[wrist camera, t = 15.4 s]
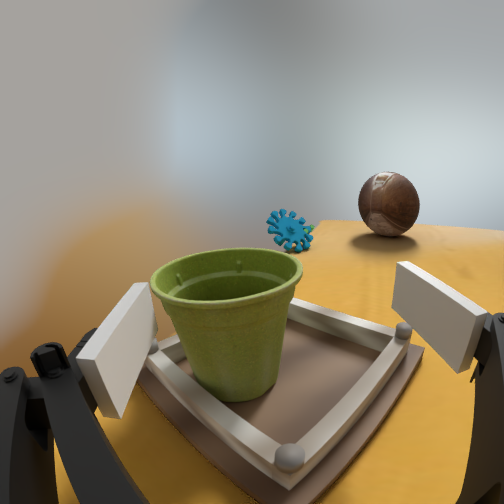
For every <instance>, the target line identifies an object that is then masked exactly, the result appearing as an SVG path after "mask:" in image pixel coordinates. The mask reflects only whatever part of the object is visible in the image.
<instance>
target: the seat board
mask: <svg viewBox="0 0 504 504" xmlns="http://www.w3.org/2000/svg"><path fill="white" fill-rule="evenodd" d="M412 329H413V328H412V327H411V326H410V325H409V324H408V323H405V322H401V323H398V324H397V326H396V329H394V328H390V327H387V326H384V325H380V324H377V323H374V322H370V321H367V320H364V319H360V318H357V317H354V316H351V315H347V314H344V313H341V312H338V311H334V310H331V309H328V308H325V307H322V306H319V305H315V304H312V303H309V302H306V301H303V300H300V299H297V298H294V297H293V298H292V300H291V302H290V303H289V309H288V315H287V321H286V327H285V334H284V340H283V347H282V354H281V361H280V367H279V373H278V378H277V381H276V383H275V384H273V385H272V386H271V387H270V388H269V389H268V390H267V391H266V392H265V393H264V394H263V395H262V396H260V397H257V398H255V399H252V400H248V401H242V402H226V401H221V400H218V399H216V398H215V397H214V396H212V395H211V394H210V393H209V392H207V391H206V390H205V389H204V388H202V387H201V386H200V385H199V384H198V383H197V381H196V378H195V376H194V374H193V371H192V369H191V366H190V364H189V362H188V359H187V357H186V355H185V352H184V350H183V347H182V344H181V342H180V340H179V337H178V335H177V334H176V335H174V336H171V337H169V338H167V339H164V340H162V341H160V342H157V339H156V338H154V340H153V343H152V345H151V347H150V350H149V352H148V354H147V357H146V359H145V361H144V364H143V366H142V368H141V371H140V373H139V375H138V378H137V380H136V382H137V383H138V384H139V385H140V387H141V388H142V389H143V390H144V392H145V393H146V394H147V395H148V397H149V398H150V399H151V400H152V401H153V403H154V404H155V405H156V406H157V407H158V408H159V410H160V411H161V412H162V413H163V414H164V415H165V416H166V418H167V419H168V420H169V421H170V422H171V423H172V424H173V425H174V426H175V427H176V429H177V430H178V431H179V432H180V433H181V434H182V435H183V436H184V437H185V438H186V439H187V440H188V441H189V442H190V443H191V444H192V445H193V446H194V447H195V448H196V449H197V450H198V451H199V452H200V453H201V454H202V455H203V456H204V457H205V458H206V459H207V460H208V461H210V462H211V463H212V464H213V465H214V466H215V467H216V468H217V469H218V470H219V471H221V472H222V473H223V474H224V475H225V476H226V477H227V478H229V479H230V480H231V481H232V482H233V483H235V484H236V485H237V486H238V487H239V488H241V489H242V490H243V491H244V492H246V493H247V494H248V495H249V496H251V497H252V498H253V499H255V500H256V501H257V502H259V503H260V504H313V503H314V502H315V501H316V500H317V499H318V498H319V497H320V496H321V495H322V494H323V493H324V492H325V491H326V490H327V489H328V488H329V487H330V486H331V485H332V484H333V483H334V482H335V481H336V480H337V478H338V477H339V476H340V475H341V474H342V473H343V472H344V471H345V469H346V468H347V467H348V466H349V465H350V464H351V462H352V461H353V460H354V459H355V458H356V456H357V455H358V454H359V453H360V452H361V450H362V449H363V448H364V446H365V445H366V444H367V443H368V441H369V440H370V439H371V437H372V436H373V435H374V433H375V432H376V431H377V429H378V428H379V426H380V425H381V424H382V422H383V421H384V419H385V418H386V416H387V415H388V413H389V412H390V410H391V409H392V407H393V406H394V404H395V403H396V401H397V400H398V398H399V397H400V395H401V393H402V392H403V390H404V388H405V387H406V385H407V383H408V382H409V380H410V378H411V377H412V375H413V373H414V371H415V369H416V368H417V366H418V364H419V362H420V360H421V358H422V356H423V353H424V349H425V348H424V347H420V346H417V345H414V344H410V339H411V334H412Z"/></svg>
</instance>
